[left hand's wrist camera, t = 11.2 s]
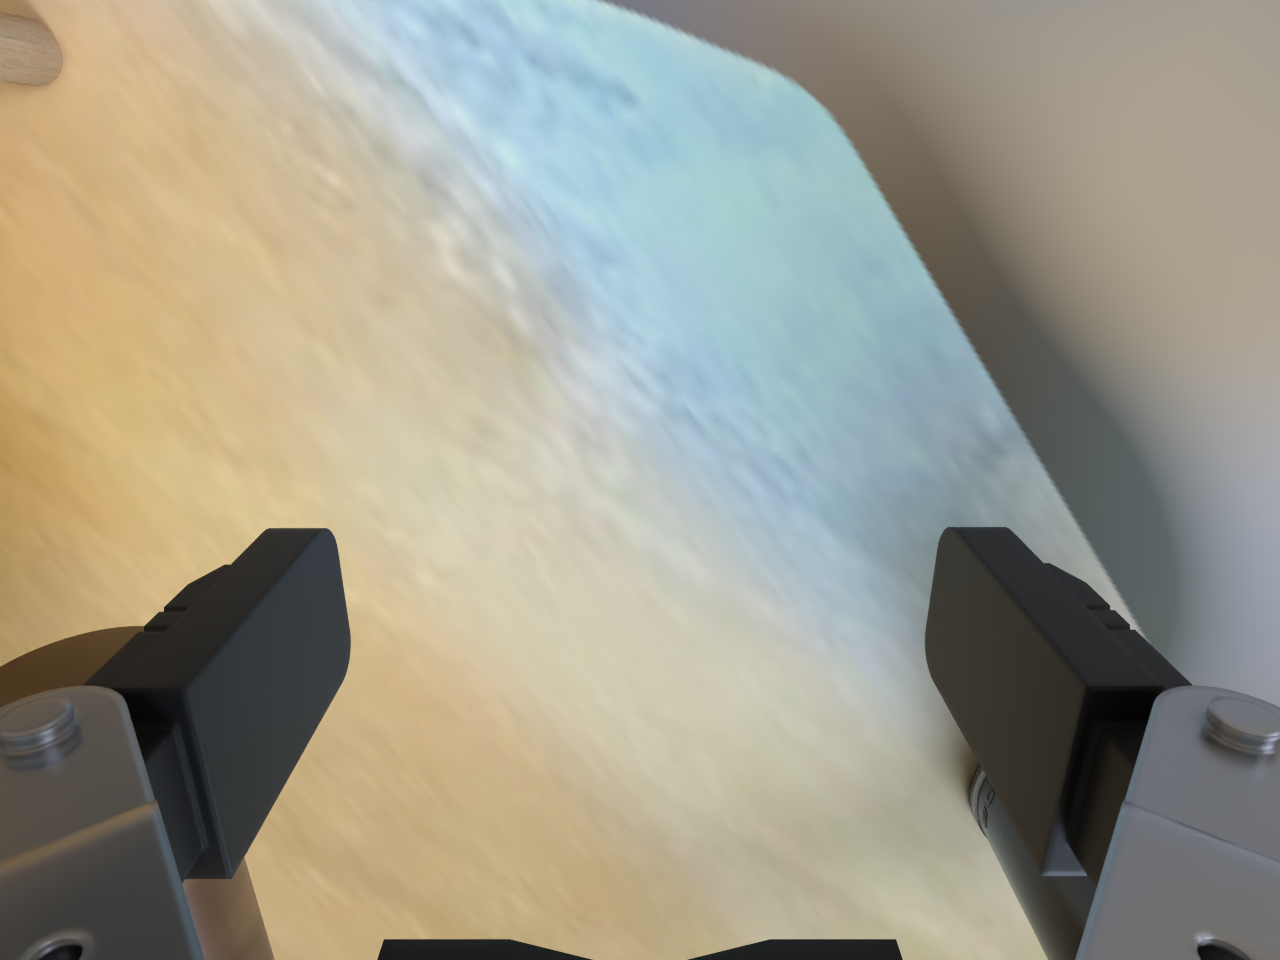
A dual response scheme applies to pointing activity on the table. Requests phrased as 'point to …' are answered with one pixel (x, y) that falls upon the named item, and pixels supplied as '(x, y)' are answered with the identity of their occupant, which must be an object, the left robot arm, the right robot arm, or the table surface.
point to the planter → (27, 51)
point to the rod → (215, 904)
